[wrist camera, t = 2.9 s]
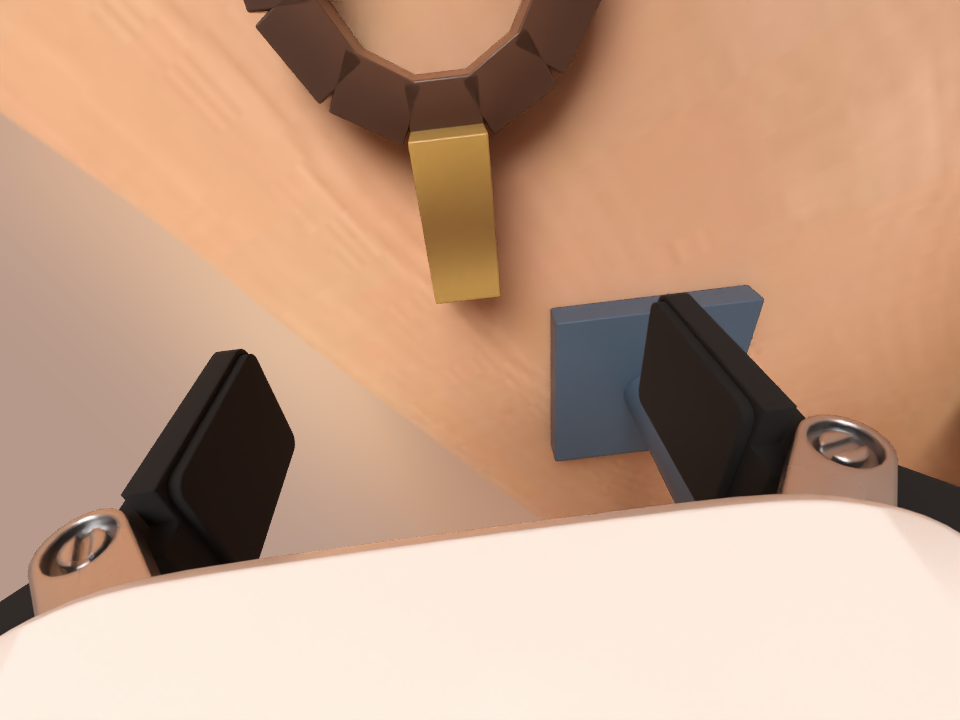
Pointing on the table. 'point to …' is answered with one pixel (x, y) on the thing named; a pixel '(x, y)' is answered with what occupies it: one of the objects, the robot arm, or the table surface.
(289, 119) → the table surface
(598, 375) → the peg rack
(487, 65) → the walnut ring
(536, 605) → the robot arm
